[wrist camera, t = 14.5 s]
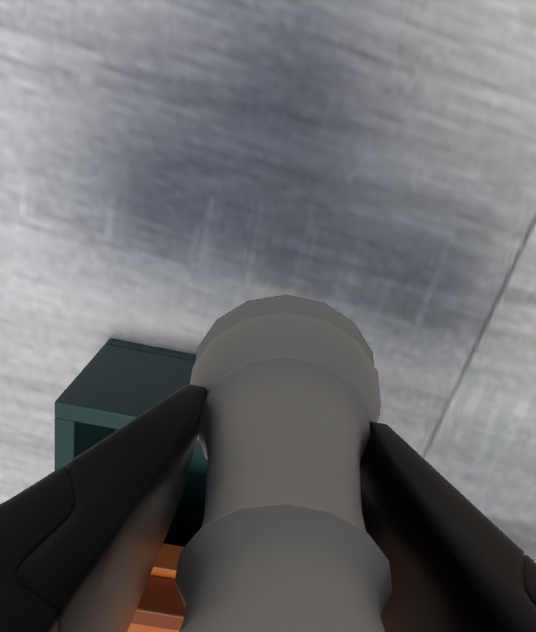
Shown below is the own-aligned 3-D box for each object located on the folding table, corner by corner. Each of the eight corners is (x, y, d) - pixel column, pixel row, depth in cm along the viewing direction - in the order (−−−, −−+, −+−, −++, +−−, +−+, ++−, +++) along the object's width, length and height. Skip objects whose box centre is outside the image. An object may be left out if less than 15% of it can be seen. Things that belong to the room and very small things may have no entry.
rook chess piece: (201, 438, 11) (44, 984, 4) (191, 285, 10) (-118, 739, 2) (362, 444, 11) (515, 1019, 4) (382, 289, 10) (721, 786, 2)
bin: (109, 338, 21) (54, 402, 16) (328, 380, 22) (342, 455, 17) (96, 573, 28) (55, 669, 23) (260, 600, 29) (255, 699, 24)
